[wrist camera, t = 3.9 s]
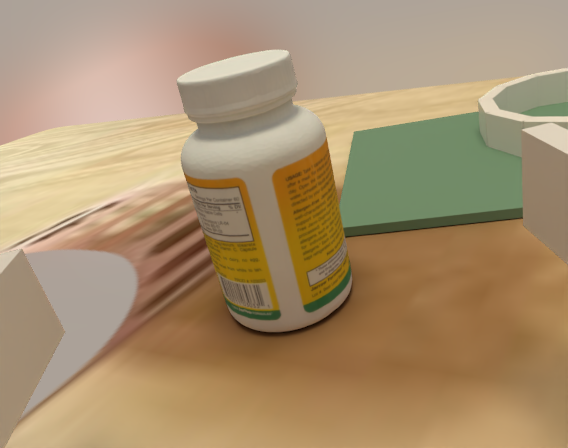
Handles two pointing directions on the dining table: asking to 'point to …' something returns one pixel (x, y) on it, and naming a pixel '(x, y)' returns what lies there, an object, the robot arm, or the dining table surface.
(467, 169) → the putting mat
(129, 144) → the dining table surface
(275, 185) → the supplement bottle
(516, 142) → the segmented ring wall
